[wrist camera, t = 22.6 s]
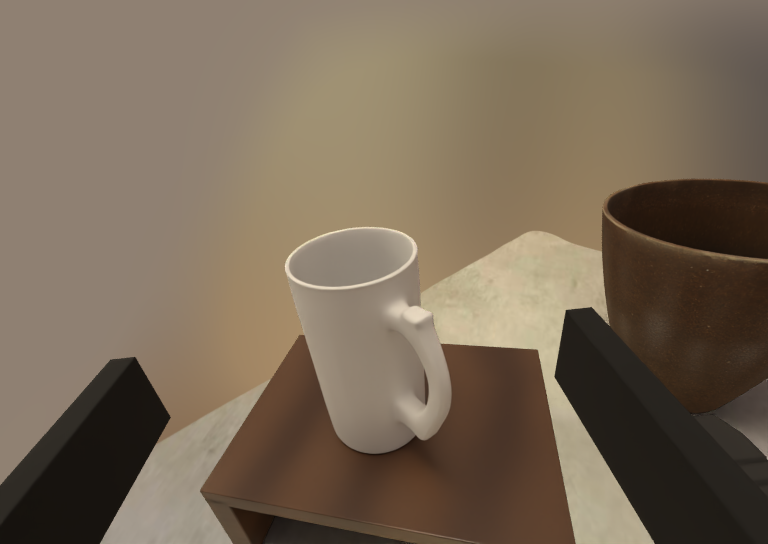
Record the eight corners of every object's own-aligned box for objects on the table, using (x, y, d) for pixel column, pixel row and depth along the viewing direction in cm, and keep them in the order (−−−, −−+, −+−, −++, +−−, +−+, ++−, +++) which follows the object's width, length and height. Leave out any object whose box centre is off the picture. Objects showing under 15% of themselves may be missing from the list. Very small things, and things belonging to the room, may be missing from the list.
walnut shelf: (236, 550, 25) (199, 491, 21) (315, 389, 36) (299, 334, 33) (560, 625, 20) (579, 563, 16) (530, 411, 31) (537, 349, 28)
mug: (311, 408, 25) (264, 255, 19) (388, 361, 29) (367, 217, 23) (402, 533, 18) (371, 348, 12) (492, 451, 21) (501, 273, 15)
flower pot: (633, 467, 26) (703, 276, 18) (548, 334, 39) (568, 190, 31) (849, 448, 26) (1015, 243, 18) (690, 320, 39) (746, 169, 31)
